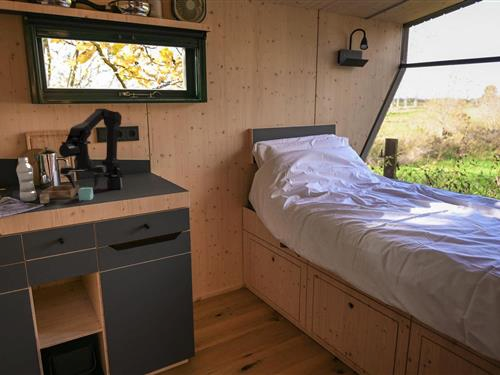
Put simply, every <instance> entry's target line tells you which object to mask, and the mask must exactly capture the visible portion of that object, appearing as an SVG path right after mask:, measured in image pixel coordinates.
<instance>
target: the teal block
mask: <svg viewBox="0 0 500 375" xmlns="http://www.w3.org/2000/svg"><path fill="white" fill-rule="evenodd" d="M77 194H78V200H79V201H82V200H83V201H91V200H93V199H94V198H93V197H94V190H93V187H92V186H91V187H79V190H78V193H77Z"/></svg>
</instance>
